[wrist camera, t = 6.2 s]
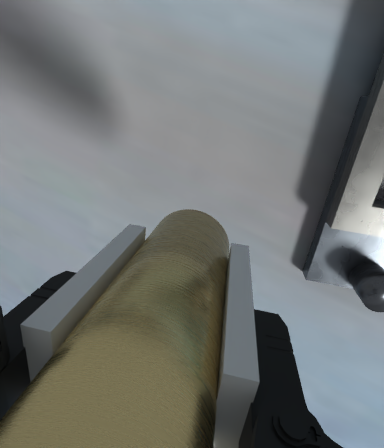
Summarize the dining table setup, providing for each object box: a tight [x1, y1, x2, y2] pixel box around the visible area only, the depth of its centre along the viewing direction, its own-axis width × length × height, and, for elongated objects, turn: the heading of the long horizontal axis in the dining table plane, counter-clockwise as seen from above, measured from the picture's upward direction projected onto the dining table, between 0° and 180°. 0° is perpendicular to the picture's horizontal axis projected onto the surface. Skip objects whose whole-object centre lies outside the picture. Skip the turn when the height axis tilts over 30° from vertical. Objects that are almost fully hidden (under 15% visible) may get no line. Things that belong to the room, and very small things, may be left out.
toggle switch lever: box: [0, 210, 229, 448], centre depth 8 cm, size 4×4×12 cm
